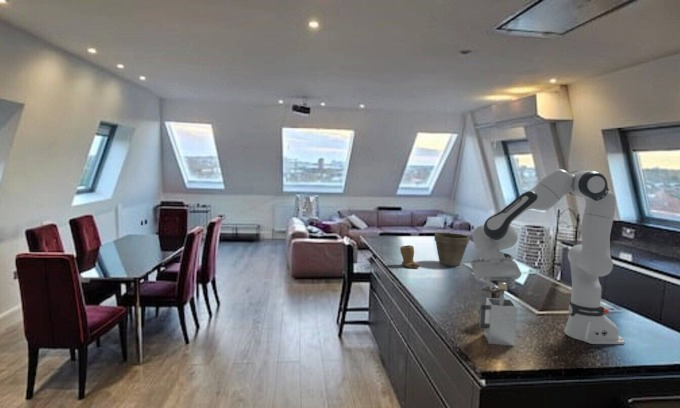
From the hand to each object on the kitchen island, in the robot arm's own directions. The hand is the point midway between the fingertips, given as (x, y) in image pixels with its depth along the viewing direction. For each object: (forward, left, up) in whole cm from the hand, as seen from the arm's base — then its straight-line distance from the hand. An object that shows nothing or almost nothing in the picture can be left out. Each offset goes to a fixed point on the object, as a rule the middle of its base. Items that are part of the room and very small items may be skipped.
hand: (503, 288), depth 178 cm
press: (+2, -1, -22) cm, 22 cm away
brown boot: (+34, -127, -22) cm, 133 cm away
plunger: (0, -1, -20) cm, 20 cm away
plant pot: (+3, -144, -22) cm, 145 cm away
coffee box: (0, -21, -22) cm, 30 cm away
